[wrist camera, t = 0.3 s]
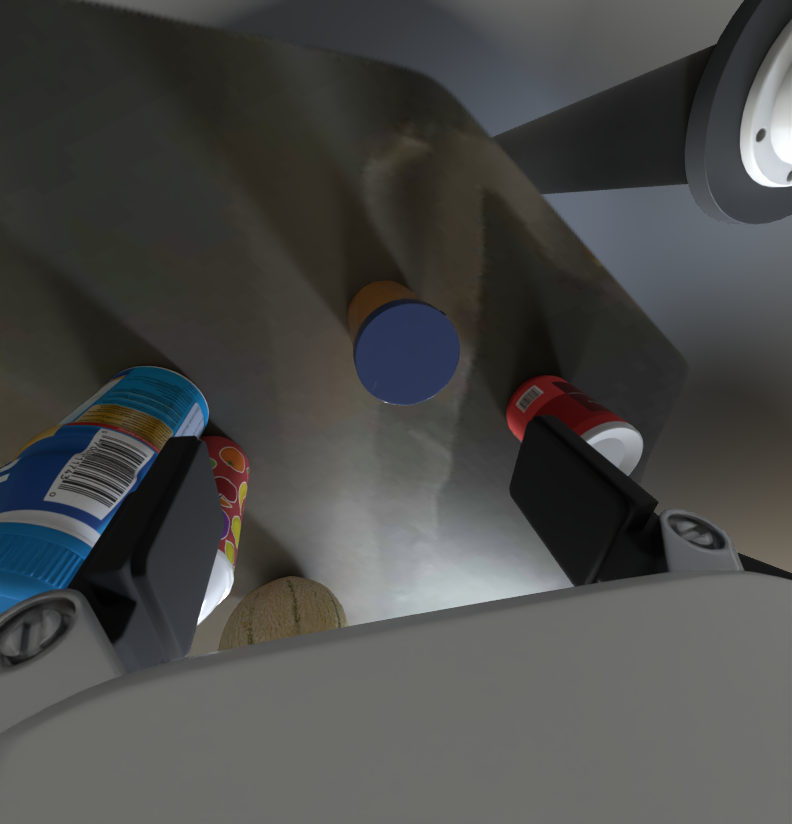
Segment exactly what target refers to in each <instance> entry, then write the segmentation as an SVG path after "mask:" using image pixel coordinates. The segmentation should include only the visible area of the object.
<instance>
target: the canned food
mask: <svg viewBox="0 0 792 824" xmlns="http://www.w3.org/2000/svg"><path fill="white" fill-rule="evenodd" d="M538 415H554V416H556V417H557V418H559V419H560V420H561V421H562V422H563V423H565V424H566V425H567V426H568V427H569V428H571V429H572V430H573V431H574V432H575V433H577V434H578V435H579V436H580V437H581V438H583V439H584V440H585V441H586V442H587V443H589V444H590V445H591V446H592V447H593V448H595V449H596V450H597V451H598V452H599V453H601V454H602V455H603V456H604V457H605V458H607V459H608V460H609V461H610V462H611V463H613V464H614V465H615V466H616V467H617V468H619V469H620V470H621V471H622V472H623V473H625V474H626V475H627V476H628V475H629V474H630V473H631V472H632V470H633V469H634V468H635V466H636V465H637V463H638V461H639V459H640V457H641V454H642V450H643V439H642V437H641V434H640V433H639V432H638V430H636V429H635V428H634V427H633V426H632V425H630V424H629V423H627V422H626V421H625V420H623V419H622V418H620V417H619V416H617V415H616V414H614V413H613V412H611V411H610V410H608V409H607V408H605V407H604V406H602V405H601V404H599V403H598V402H596V401H595V400H593V399H592V398H590V397H589V396H587V395H586V394H584V393H583V392H581V391H580V390H578V389H577V388H575V387H574V386H572V385H571V384H570V383H568V382H567V381H565V380H563V379H562V378H560V377H557V376H552V375H541V376H537V377H534V378H532V379H530V380H528V381H526V382H525V383H523V384H522V385H521V386H520V387H519V388H518V389H517V390H516V391H515V392H514V394H513V395H512V397H511V398H510V400H509V403H508V406H507V410H506V418H507V422H508V425H509V428H510V429H511V431H512V432H513V433H514V435H515V436H516V437H517V438H518V439H519V440H520V441H521V443H522V439H523V436H524V432H525V429H526V425H527V423H528V422H529V421H530V420H531V419H532V418H533V417H534V416H538Z"/></svg>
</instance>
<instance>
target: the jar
mask: <svg viewBox="0 0 792 824" xmlns="http://www.w3.org/2000/svg"><path fill="white" fill-rule="evenodd" d="M398 299H417V300H421V299H420V298H419V297H418V296H416V295H415V294H414V293H413V292H412V291H410V290H409V289H408V288H407V287H405V286H404V285H402V284H400V283H397V282H394V281H377V282H374V283H371V284H369V285H367V286H365V287H364V288H362V289H361V290H360V291H359V292H358V293H357V294H356V295H355V297H354V298H353V300H352V301H351V303H350V306H349V309H348V313H347V326H348V331H349V334H350V338H351V341H352V345H353V347H354V341H355V337H356V334H357V332H358V329H359V328H360V326H361V324H362V323H363V321H364V320H365V319H366V317H367V316H368V315H369V314H370V313H371V312H373V311H374V310H375V309H376V308H378V307H380V306H381V305H383V304H385V303H388V302H390V301H394V300H398ZM421 301H422V300H421Z"/></svg>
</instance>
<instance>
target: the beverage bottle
mask: <svg viewBox="0 0 792 824" xmlns="http://www.w3.org/2000/svg"><path fill="white" fill-rule="evenodd" d="M208 418H209V410H208V405H207V402H206V400H205V397H204V396H203V394H202V392H201V391H200V390H199V389H198V387H197V386H196V385H195V384H194V383H192V382H191V381H190V380H189V379H187V378H186V377H184V376H183V375H181V374H179V373H177V372H174V371H172V370H169V369H166V368H162V367H156V366H138V367H133V368H129V369H126V370H124V371H121V372H120V373H118V374H116V375H115V376H114V377H112V378H111V379H110V380H109V381H108V382H107V383H106V384H105V385H104V386H103V387H102V388H101V389H100V390H99V391H98V392H97V393H96V394H94V395H93V396H92V397H91V398H90V399H88V400H87V401H86V402H85V403H84V404H82V405H81V406H80V407H79V408H77V409H76V410H75V411H74V412H72V413H71V414H70V415H69V416H67V417H66V418H65V419H64V420H62V421H61V422H60V423H59V424H57V425H56V426H55V427H52V428H49V429H47V430H45V431H43V432H41V433H40V434H38V435H37V436H35V437H34V438H33V439H31V440H30V441H29V442H28V443H27V444H26V445H25V446H24V447H23V448H22V449H21V450H20V451H19V452H18V453H17V455H16V456H15V458H14V460H13V461H12V462H10V463H8V464H6V465H5V466H3V467H1V468H0V614H1V613H3V612H4V611H6V610H8V609H9V608H11V607H12V606H14V605H16V604H17V603H19V602H21V601H23V600H25V599H27V598H30V597H32V596H34V595H36V594H39V593H43V592H46V591H50V590H54V589H66V588H67V586H68V585H69V583H70V582H71V580H72V579H73V577H74V576H75V574H76V573H77V571H78V569H79V568H80V566H81V565H82V563H83V562H84V560H85V559H86V557H87V556H88V554H89V553H90V551H91V550H92V548H93V546H94V545H95V543H96V542H97V540H98V539H99V537H100V536H101V534H102V533H103V531H104V530H105V528H106V527H107V525H108V523H109V522H110V520H111V519H112V517H113V516H114V514H115V513H116V511H117V510H118V508H119V507H120V505H121V503H122V502H123V500H124V499H125V497H126V496H127V495H128V494H129V493H131V492H133V491H135V490H136V489H137V487H138V486H139V484H140V482H141V481H142V479H143V478H144V476H145V475H146V473H147V471H148V470H149V468H150V467H151V465H152V463H153V462H154V460H155V459H156V457H157V456H158V454H159V452H160V451H161V449H162V448H163V446H164V445H165V443H166V441H167V440H168V439H169V438H170V437H178V436H196V437H197V438H198V439H199V438H200V437H201V435H202V433H203V432H204V430H205V428H206V426H207V423H208Z"/></svg>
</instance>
